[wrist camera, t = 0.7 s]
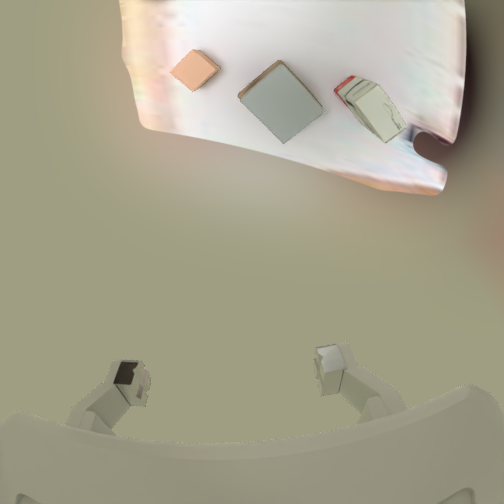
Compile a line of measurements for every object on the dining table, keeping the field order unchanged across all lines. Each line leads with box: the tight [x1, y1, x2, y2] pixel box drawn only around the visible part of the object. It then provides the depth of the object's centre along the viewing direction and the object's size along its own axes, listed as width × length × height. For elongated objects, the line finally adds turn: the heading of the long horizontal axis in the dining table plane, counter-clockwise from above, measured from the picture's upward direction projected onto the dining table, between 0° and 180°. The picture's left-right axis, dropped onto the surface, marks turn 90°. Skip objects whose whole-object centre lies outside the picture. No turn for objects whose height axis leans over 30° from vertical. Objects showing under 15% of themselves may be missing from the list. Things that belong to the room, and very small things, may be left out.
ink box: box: [334, 76, 407, 143], centre depth 37 cm, size 8×5×12 cm, turn 46°
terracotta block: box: [170, 50, 220, 92], centre depth 36 cm, size 5×5×6 cm
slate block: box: [240, 64, 325, 144], centre depth 36 cm, size 8×9×5 cm
